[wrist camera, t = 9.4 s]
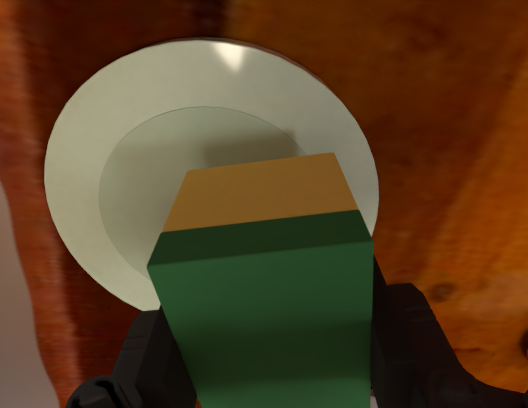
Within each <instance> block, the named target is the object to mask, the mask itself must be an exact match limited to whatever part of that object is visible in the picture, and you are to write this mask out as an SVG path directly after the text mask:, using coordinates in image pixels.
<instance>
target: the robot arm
mask: <svg viewBox="0 0 528 408" xmlns="http://www.w3.org/2000/svg"><path fill="white" fill-rule="evenodd" d="M370 381H371V384H372V388H373V392H374V395H375V399H376V403H377V406H378V408H528V390H527V391H526V392H525V394H524V393H520V392H515V391H510V390H506V389H501V388H496V387H493V386H490V385H487V384H485V383H483V382H481V381H479V380H477V379H476V378H475V377H474V376H473V375H472V374H470V373H468V372H467V371H466V370H465V369H464V368H463V367H462V365H461V364H460V362H459V361H458V359H457V357H456V355H455V353H454V351H453V349H452V348H451V346H450V344H449V342H448V340H447V338H446V336H445V334H444V332H443V330H442V329H441V327H440V325H439V323H438V321H436V317H435V315H434V313H433V311H432V309H430V306H429V304H428V302H427V300H426V298H425V296H424V294H423V293H422V292H421V291H420V290H418V289H417V288H416V287H415V286H414V285H413V284H411V283H405V284H395V285H386V282H385V280H384V278H383V275H382V273H381V270H380V268H379V266H378V263H377V261H376V258H375V256H374V255H373V303H372V322H371V375H370ZM196 398H197V394H196V391H195V389H194V386H193V384H192V381H191V379H190V376H189V374H188V371H187V369H186V366H185V364H184V361H183V359H182V356H181V354H180V351H179V349H178V346H177V344H176V341H175V338H174V336H173V334H172V331H171V329H170V326H169V324H168V321H167V319H166V316H165V314H164V311H163V309H162V306H161V304H160V307H159V310H149V311H142V312H141V313H140V314H139V315H138V316H137V318H136V319H135V320H134V321H133V322H132V323H131V326H130V328H129V331H128V333H127V336H126V340H125V341H124V343H123V346H122V351H120V354H119V356H118V359H117V361H116V364H115V366H114V369H113V371H112V374H111V376H109V375H100V376H95V377H93V378H91V379H89V380H87V381H85V382H84V383H83V384H82V385H80V386H79V387H78V388H77V389H76V390H75V391H74V393H73V394H72V395H71V396H70V398H69V400H68V402H67V405H66V407H65V408H195V404H196Z"/></svg>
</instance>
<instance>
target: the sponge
mask: <svg viewBox="0 0 528 408" xmlns="http://www.w3.org/2000/svg"><path fill="white" fill-rule="evenodd" d="M373 255H374V242H373V239H372V237H371V235H370V233H369V230H368V228H367V226H366V223H365V221H364V219H363V217H362V214H361V212H360V210H359V208H358V206H357V204H356V201H355V199H354V197H353V194H352V192H351V190H350V188H349V185H348V183H347V181H346V178H345V176H344V174H343V172H342V169H341V167H340V165H339V162H338V160H337V158H336V156H335V153H334V152H329V153H322V154H314V155H306V156H298V157H290V158H283V159H275V160H267V161H259V162H251V163H244V164H236V165H228V166H220V167H212V168H205V169H197V170H189V171H187V173H186V175H185V177H184V180H183V182H182V184H181V187H180V189H179V191H178V194H177V196H176V198H175V201H174V203H173V206H172V208H171V210H170V213H169V215H168V217H167V220H166V222H165V224H164V227H163V229H162V233H160V235H159V238H158V240H157V242H156V245H155V247H154V250H153V252H152V254H151V257H150V259H149V261H148V264H147V267H146V268H147V271H148V273H149V276H150V278H151V281H152V283H153V286H154V288H155V291H156V293H157V296H158V298H159V301H160V304H161V306H162V309H163V311H164V314H165V316H166V319H167V321H168V324H169V326H170V329H171V331H172V334H173V336H174V338H175V341H176V344H177V346H178V349H179V351H180V354H181V356H182V359H183V361H184V364H185V366H186V369H187V371H188V374H189V376H190V379H191V381H192V384H193V386H194V389H195V391H196V394H197V397H198V399H199V402H200V405H201V407H202V408H370V400H371V381H370V375H371V322H372V303H373Z"/></svg>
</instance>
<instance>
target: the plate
mask: <svg viewBox="0 0 528 408" xmlns="http://www.w3.org/2000/svg"><path fill="white" fill-rule="evenodd" d="M329 152H334V153H335V156H336V158H337V160H338V162H339V165H340V167H341V169H342V172H343V174H344V176H345V178H346V181H347V183H348V185H349V188H350V190H351V192H352V194H353V197H354V199H355V201H356V204H357V206H358V208H359V210H360V212H361V214H362V217H363V219H364V221H365V223H366V226H367V228H368V230H369V233H370V235H371V237H372V234H373V230H374V226H375V223H376V219H377V212H378V203H379V188H378V176H377V171H376V166H375V162H374V158H373V155H372V153H371V150H370V147H369V145H368V142H367V139H366V137H365V136H364V134H363V132H362V130H361V129H360V127H359V125H358V123H357V121H356V120H355V118H354V117H353V115H352V114H351V112H350V111H349V110H348V109H347V107H346V106H345V105H344V103H343V102H342V101H341V99H340V98H339V97H338V96H337V94H336V93H335V92H334V91H332V90H331V89H330V88H329V87H328V86H327V85H326V84H325V83H324V82H323V81H322V80H321V79H320V78H319V77H317V76H316V75H315V74H313V73H312V72H310V71H309V70H308V69H306V68H305V67H303V66H302V65H301V64H299V63H297V62H295V61H293V60H291V59H289V58H288V57H286V56H284V55H282V54H280V53H278V52H275V51H273V50H270V49H267V48H264V47H261V46H259V45H256V44H253V43H248V42H243V41H238V40H234V39H229V38H215V37H192V38H179V39H173V40H169V41H164V42H160V43H156V44H152V45H149V46H147V47H144V48H142V49H139V50H137V51H134V52H132V53H129V54H127V55H125V56H123V57H121V58H119V59H117V60H116V61H114V62H112V63H111V64H109V65H107V66H106V67H104V68H102V69H101V70H99V71H98V72H97V73H96V74H94V75H93V76H92V77H91V78H90V79H88V80H87V81H86V82H85V83H84V84H83V85H81V86H80V88H79V89H78V90H77V91H76V92H75V94H74V95H73V96H72V97H71V98H70V100H69V101H68V102H67V103H66V105H65V107H64V108H63V110H62V112H61V113H60V115H59V117H58V119H57V120H56V122H55V125H54V128H53V130H52V133H51V136H50V139H49V141H48V147H47V152H46V157H45V173H44V182H45V190H46V197H47V202H48V206H49V209H50V213H51V216H52V219H53V221H54V224H55V226H56V228H57V230H58V233H59V235H60V237H61V238H62V240H63V242H64V243H65V245H66V246H67V248H68V250H69V251H70V253H71V254H72V255H73V257H74V258H75V259H76V260H77V262H78V263H79V264H80V265H81V267H82V268H83V269H84V270H85V271H86V272H87V273H88V274H89V275H90V276H91V277H92V278H93V279H94V280H96V281H97V282H98V283H99V284H100V285H102V286H103V287H104V288H105V289H107V290H108V291H109V292H111V293H112V294H114V295H115V296H117V297H118V298H120V299H121V300H123V301H125V302H126V303H128V304H130V305H132V306H134V307H136V308H138V309H140V310H142V311H149V310H159V307H160V301H159V298H158V296H157V293H156V291H155V288H154V286H153V283H152V281H151V278H150V276H149V273H148V271H147V268H146V267H147V264H148V261H149V259H150V257H151V254H152V252H153V250H154V247H155V245H156V242H157V240H158V238H159V235H160V233H162V229H163V227H164V224H165V222H166V220H167V217H168V215H169V213H170V210H171V208H172V206H173V203H174V201H175V198H176V196H177V194H178V191H179V189H180V187H181V184H182V182H183V180H184V177H185V175H186V173H187V171H189V170H197V169H205V168H212V167H220V166H228V165H236V164H244V163H251V162H259V161H267V160H275V159H283V158H290V157H298V156H306V155H314V154H322V153H329Z"/></svg>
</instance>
